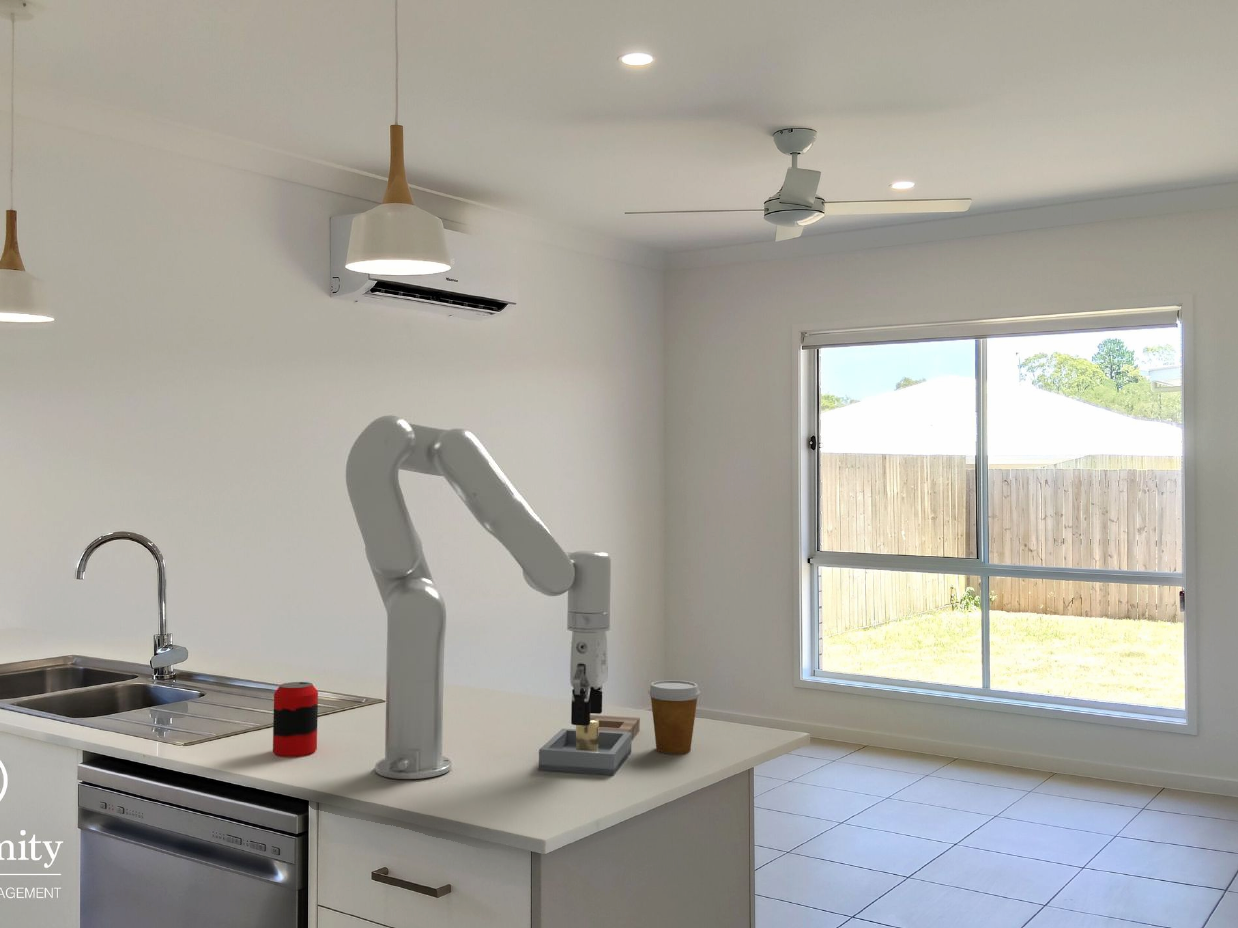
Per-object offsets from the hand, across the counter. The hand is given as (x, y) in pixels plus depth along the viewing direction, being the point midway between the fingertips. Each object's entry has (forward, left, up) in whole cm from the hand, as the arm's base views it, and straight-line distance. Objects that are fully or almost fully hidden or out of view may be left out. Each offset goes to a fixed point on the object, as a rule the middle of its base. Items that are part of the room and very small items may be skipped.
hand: (586, 718), depth 184 cm
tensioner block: (+18, 0, -7) cm, 19 cm away
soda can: (-7, +52, -8) cm, 53 cm away
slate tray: (0, 0, -7) cm, 7 cm away
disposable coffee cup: (+11, -14, -8) cm, 19 cm away
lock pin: (0, 0, -6) cm, 6 cm away
